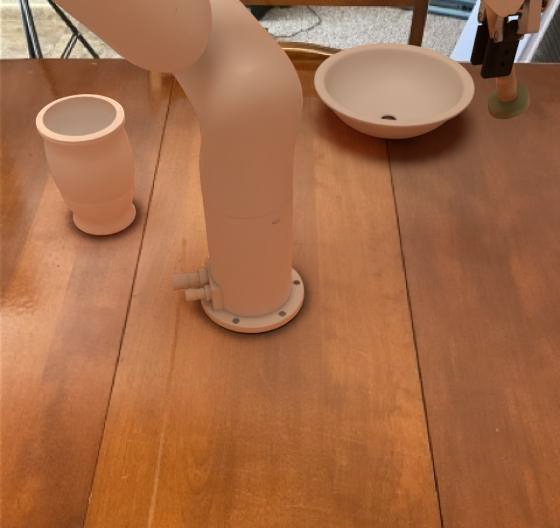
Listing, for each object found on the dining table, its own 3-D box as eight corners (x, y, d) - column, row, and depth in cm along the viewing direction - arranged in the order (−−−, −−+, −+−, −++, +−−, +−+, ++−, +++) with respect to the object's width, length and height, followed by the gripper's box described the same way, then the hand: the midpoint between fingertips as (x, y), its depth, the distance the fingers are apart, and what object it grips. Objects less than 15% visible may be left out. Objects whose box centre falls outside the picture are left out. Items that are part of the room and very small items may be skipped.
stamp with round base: (489, 123, 75) (470, 3, 64) (487, 98, 78) (468, -22, 67) (531, 113, 74) (519, -12, 63) (528, 88, 76) (515, -37, 65)
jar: (159, 210, 93) (142, 109, 82) (107, 252, 88) (80, 150, 76) (102, 184, 97) (78, 84, 85) (49, 222, 92) (15, 121, 80)
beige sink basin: (281, 114, 108) (281, 74, 103) (389, 67, 118) (394, 28, 113) (387, 186, 97) (393, 145, 92) (497, 127, 106) (508, 87, 101)
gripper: (464, -167, 62) (430, 38, 76) (541, -108, 52) (485, 114, 66) (541, -172, 63) (493, 31, 77) (631, -115, 53) (556, 105, 67)
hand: (489, 68), depth 72 cm, fingers closed on stamp with round base, 2 cm apart
